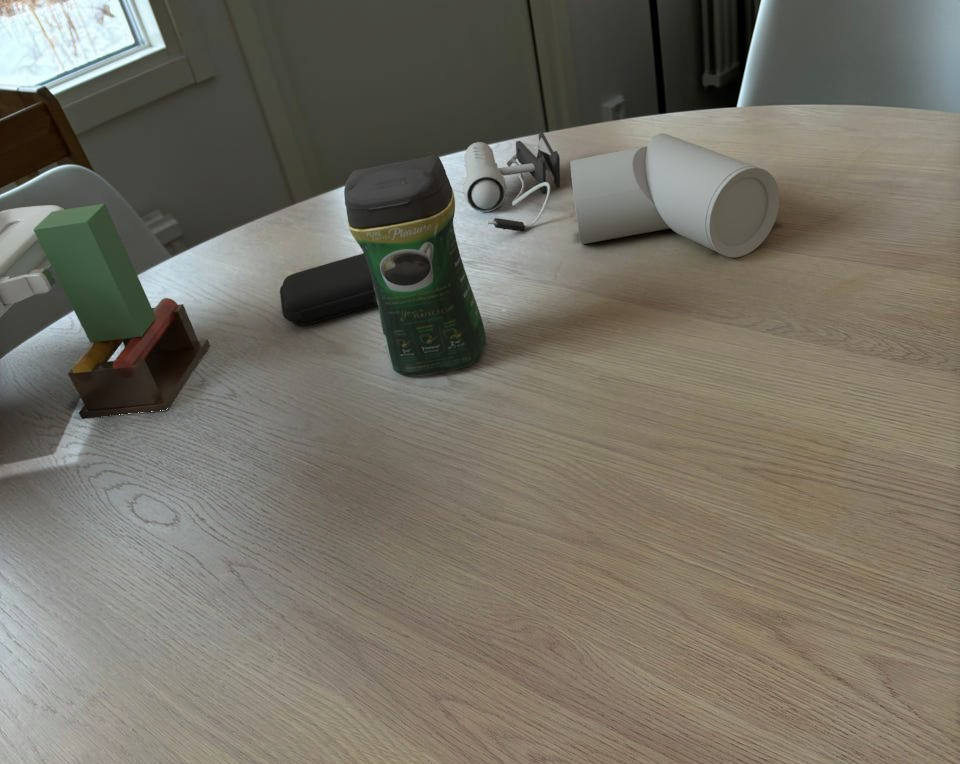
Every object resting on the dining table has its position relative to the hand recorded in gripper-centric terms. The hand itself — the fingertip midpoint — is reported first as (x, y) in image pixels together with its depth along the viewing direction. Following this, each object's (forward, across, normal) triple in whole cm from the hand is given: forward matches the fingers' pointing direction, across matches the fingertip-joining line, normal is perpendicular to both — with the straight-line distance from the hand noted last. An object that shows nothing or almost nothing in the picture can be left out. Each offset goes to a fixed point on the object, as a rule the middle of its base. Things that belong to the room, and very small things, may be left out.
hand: (71, 257), depth 103 cm
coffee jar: (+35, -1, +14) cm, 38 cm away
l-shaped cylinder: (+57, +19, +14) cm, 62 cm away
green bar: (+2, 0, +8) cm, 8 cm away
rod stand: (+2, 0, +14) cm, 14 cm away
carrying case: (+21, +14, +14) cm, 29 cm away
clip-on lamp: (+38, +34, +14) cm, 52 cm away
